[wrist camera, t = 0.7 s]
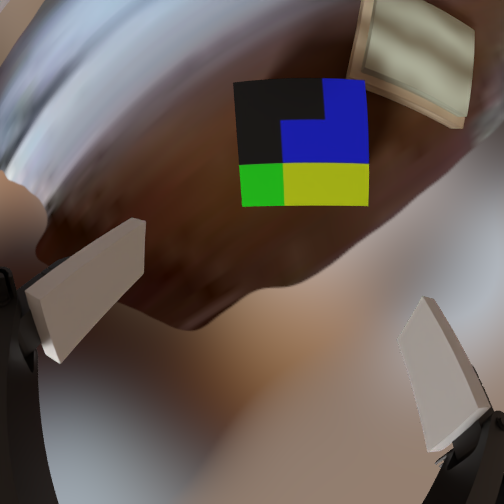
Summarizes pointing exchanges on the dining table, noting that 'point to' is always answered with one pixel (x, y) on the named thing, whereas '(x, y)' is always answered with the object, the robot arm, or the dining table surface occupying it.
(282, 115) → the puzzle toy
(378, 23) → the plinth
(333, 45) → the dining table surface
